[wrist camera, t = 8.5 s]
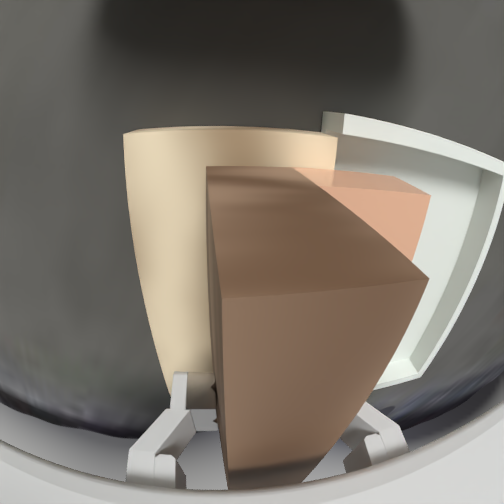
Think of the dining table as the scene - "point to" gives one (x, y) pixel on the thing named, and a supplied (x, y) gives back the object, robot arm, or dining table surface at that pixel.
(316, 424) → the tall tan block
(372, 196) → the tile
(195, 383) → the robot arm
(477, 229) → the tray
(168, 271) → the board
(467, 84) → the dining table surface
